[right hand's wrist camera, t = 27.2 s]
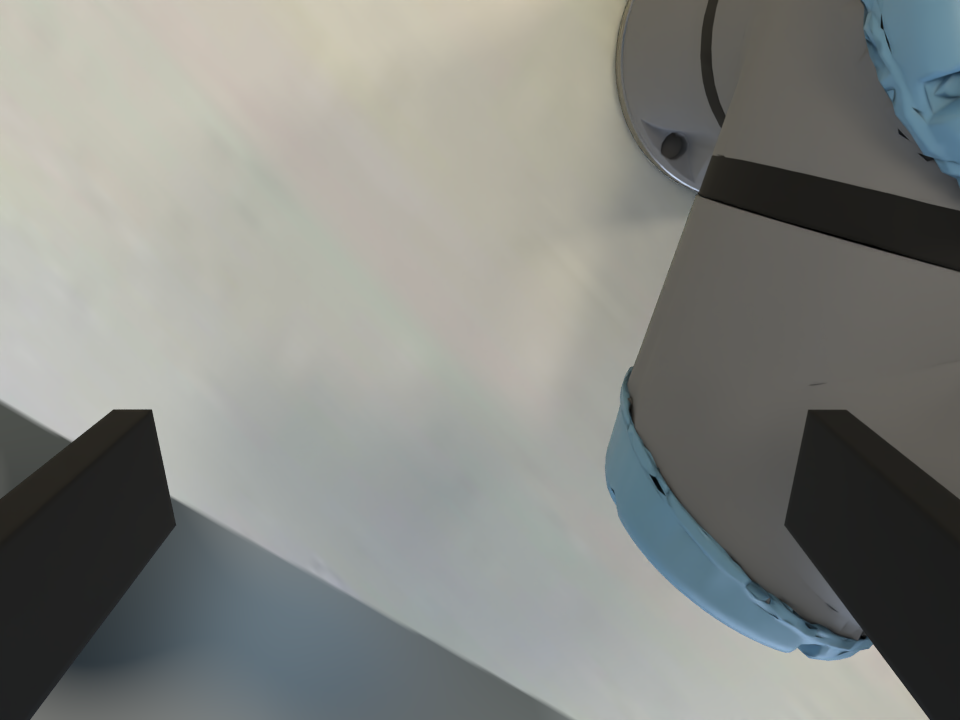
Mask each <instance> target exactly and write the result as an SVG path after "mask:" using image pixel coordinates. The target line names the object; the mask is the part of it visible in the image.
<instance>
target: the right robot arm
mask: <svg viewBox="0 0 960 720" xmlns="http://www.w3.org/2000/svg"><path fill="white" fill-rule="evenodd" d="M616 81H617V89H618V95H619V100H620V104H621V108H622V112H623V114H624V117H625V120H626V123H627V125H628V127H629V129H630V131H631V133H632V135H633V137H634V139H635V141H636V142H637V144H638V145H639V147H640V148H641V150H642V151H643V152H644V154H645V155H646V156H647V158H648V159H649V160H650V161H651V162H652V163H653V164H654V165H655V166H656V167H657V168H658V169H660V170H661V171H662V172H663V173H664V174H666V175H667V176H668V177H670V178H671V179H673V180H674V181H676V182H678V183H680V184H682V185H683V186H685V187H687V188H690V189H692V190H695V191H698V194H699V195H698V194H697V195H696V197H695V200H694V202H693V205H692V208H691V211H690V213H689V216H688V219H687V222H686V224H685V227H684V230H683V233H682V235H681V238H680V241H679V244H678V246H677V249H676V252H675V255H674V257H673V260H672V263H671V266H670V268H669V271H668V274H667V277H666V279H665V282H664V285H663V288H662V290H661V293H660V296H659V299H658V302H657V304H656V307H655V310H654V313H653V315H652V318H651V321H650V324H649V326H648V329H647V332H646V335H645V337H644V340H643V343H642V346H641V348H640V351H639V354H638V356H637V359H636V362H635V364H634V366H633V367H630V368H629V370H628V372H627V374H626V375H625V378H624V381H623V384H622V387H621V394H620V408H619V411H618V415H617V418H616V422H615V425H614V429H613V432H612V436H611V439H610V442H609V445H608V448H607V453H606V463H605V473H606V482H607V487H608V490H609V492H610V495H611V497H612V499H613V501H614V502H615V504H616V505H617V510H618V516H619V518H620V520H621V522H622V524H623V526H624V528H625V529H626V531H627V532H628V534H629V535H630V537H631V538H632V540H633V541H634V542H635V544H636V545H637V547H638V548H639V549H640V550H641V552H642V553H643V554H644V555H645V557H646V558H647V559H648V560H649V561H650V562H651V564H652V565H653V566H654V567H655V568H656V569H657V570H658V571H659V572H660V573H661V574H662V575H663V576H664V577H665V578H666V579H667V580H668V581H669V582H670V583H671V584H672V585H674V586H675V587H676V588H677V589H678V590H679V591H680V592H681V593H683V594H684V595H685V596H686V597H687V598H689V599H690V600H691V601H692V602H694V603H695V604H696V605H698V606H699V607H700V608H702V609H703V610H704V611H706V612H707V613H708V614H710V615H711V616H713V617H714V618H716V619H717V620H719V621H720V622H722V623H724V624H725V625H727V626H728V627H730V628H732V629H733V630H735V631H737V632H739V633H740V634H742V635H744V636H746V637H748V638H750V639H752V640H754V641H757V642H759V643H761V644H763V645H765V646H768V647H770V648H773V649H775V650H779V651H782V652H785V653H787V652H792V651H793V650H795V649H796V648H798V649H799V650H800V651H802V652H803V653H804V654H805V655H806V656H807V657H808V658H811V659H819V660H827V661H830V660H840V659H844V658H848V657H851V656H852V655H854V654H855V653H857V652H858V651H860V650H864V649H869V648H870V647H871V645H873V644H874V646H875V647H876V648H877V650H878V651H879V652H880V654H881V655H882V656H883V658H884V659H885V660H886V662H887V663H888V664H889V666H890V667H891V668H892V670H893V671H894V672H895V674H896V675H897V676H898V678H899V679H900V680H901V682H902V683H903V684H904V686H905V687H906V688H907V690H908V691H909V692H910V694H911V695H912V696H913V698H914V699H915V700H916V702H917V703H918V704H919V706H920V707H921V708H922V710H923V711H924V712H925V714H926V715H927V716H928V718H929V719H930V720H960V0H628V2H627V5H626V7H625V11H624V14H623V18H622V21H621V25H620V30H619V35H618V42H617V50H616ZM175 526H176V523H175V518H174V513H173V509H172V504H171V499H170V494H169V489H168V485H167V480H166V475H165V470H164V465H163V461H162V456H161V451H160V446H159V441H158V437H157V432H156V427H155V422H154V417H153V413H152V410H112V411H111V412H110V413H109V414H107V415H106V416H105V417H104V418H102V419H101V420H100V421H98V422H97V423H96V424H95V425H93V426H92V427H91V428H90V429H88V430H87V431H86V432H85V433H83V434H82V435H81V436H80V437H78V438H77V439H76V440H74V441H73V442H72V443H71V444H69V445H68V446H67V447H66V448H64V449H63V450H62V451H61V452H59V453H58V454H57V455H56V456H54V457H53V458H52V459H50V460H49V461H48V462H47V463H45V464H44V465H43V466H42V467H40V468H39V469H38V470H37V471H35V472H34V473H33V474H31V475H30V476H29V477H28V478H26V479H25V480H24V481H23V482H21V483H20V484H19V485H18V486H16V487H15V488H14V489H13V490H11V491H10V492H9V493H8V494H6V495H5V496H4V497H2V498H1V499H0V720H30V719H31V718H32V716H33V715H34V714H35V712H36V711H37V710H38V708H39V707H40V706H41V704H42V703H43V702H44V700H45V699H46V698H47V696H48V695H49V694H50V692H51V691H52V690H53V688H54V687H55V686H56V684H57V683H58V682H59V680H60V679H61V678H62V676H63V675H64V674H65V672H66V671H67V670H68V668H69V667H70V666H71V664H72V663H73V662H74V660H75V659H76V658H77V656H78V655H79V654H80V652H81V651H82V650H83V648H84V647H85V646H86V644H87V643H88V642H89V640H90V639H91V638H92V636H93V635H94V634H95V632H96V631H97V630H98V628H99V627H100V626H101V624H102V623H103V622H104V620H105V619H106V618H107V616H108V615H109V614H110V612H111V611H112V610H113V608H114V607H115V606H116V604H117V603H118V602H119V600H120V599H121V598H122V596H123V595H124V594H125V592H126V591H127V590H128V588H129V587H130V586H131V584H132V583H133V582H134V580H135V579H136V578H137V576H138V575H139V574H140V572H141V571H142V570H143V568H144V567H145V566H146V564H147V563H148V562H149V560H150V559H151V558H152V556H153V555H154V554H155V552H156V551H157V550H158V548H159V547H160V546H161V544H162V543H163V542H164V540H165V539H166V538H167V536H168V535H169V534H170V532H171V531H172V530H173V528H174V527H175Z"/></svg>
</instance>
